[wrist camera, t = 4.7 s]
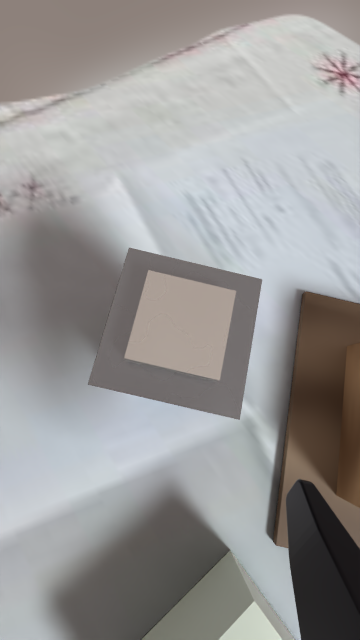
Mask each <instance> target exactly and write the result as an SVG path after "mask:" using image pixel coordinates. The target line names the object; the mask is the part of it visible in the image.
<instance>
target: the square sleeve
mask: <svg viewBox="0 0 360 640" xmlns="http://www.w3.org/2000/svg"><path fill="white" fill-rule="evenodd" d="M298 479H302V480H306V481H310V482H312V483H313V484H314V485H315V486H316V488H317V489H318V490H319V492H320V493H321V495H322V496H323V497H324V499H325V500H326V502H327V503H328V505H329V506H330V507H331V509H332V510H333V512H334V513H335V514H336V516H337V517H338V519H339V520H340V522H341V523H342V524H343V526H344V527H345V529H346V530H347V531H348V533H349V534H350V536H351V537H352V538H353V540H354V541H355V543H356V544H357V546H358V547H359V548H360V304H357V303H353V302H348V301H344V300H340V299H336V298H332V297H327V296H323V295H319V294H315V293H311V292H304V293H303V294H302V303H301V311H300V319H299V328H298V336H297V344H296V353H295V361H294V370H293V378H292V386H291V395H290V403H289V412H288V420H287V428H286V437H285V445H284V454H283V462H282V470H281V479H280V487H279V496H278V504H277V512H276V521H275V529H274V537H273V542H274V543H275V545H276V546H281V547H285V548H288V531H287V514H286V496H287V493H288V492H289V490H290V489H291V487H292V486H293V485H294V483H295V482H296V480H298Z"/></svg>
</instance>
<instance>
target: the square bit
mask: <svg viewBox="0 0 360 640" xmlns="http://www.w3.org/2000/svg"><path fill="white" fill-rule="evenodd" d="M261 283H262V279H258V278H254V277H250V276H246V275H242V274H237V273H233V272H229V271H225V270H221V269H216V268H212V267H208V266H204V265H200V264H196V263H191V262H187V261H183V260H179V259H175V258H170V257H166V256H162V255H158V254H154V253H149V252H145V251H141V250H137V249H133V248H129V249H128V253H127V256H126V259H125V263H124V266H123V269H122V273H121V276H120V279H119V283H118V286H117V289H116V293H115V296H114V299H113V303H112V306H111V309H110V312H109V316H108V319H107V322H106V326H105V329H104V332H103V336H102V339H101V342H100V346H99V349H98V352H97V356H96V359H95V362H94V366H93V369H92V372H91V376H90V379H89V382H88V385H92V386H97V387H101V388H105V389H110V390H114V391H118V392H123V393H127V394H131V395H135V396H140V397H144V398H148V399H153V400H157V401H161V402H166V403H170V404H174V405H179V406H183V407H187V408H191V409H196V410H200V411H204V412H209V413H213V414H217V415H222V416H226V417H230V418H234V419H239V420H240V414H241V408H242V401H243V395H244V389H245V383H246V376H247V370H248V364H249V358H250V352H251V345H252V339H253V333H254V327H255V321H256V314H257V308H258V302H259V296H260V290H261Z"/></svg>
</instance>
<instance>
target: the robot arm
mask: <svg viewBox="0 0 360 640" xmlns="http://www.w3.org/2000/svg"><path fill="white" fill-rule="evenodd" d="M286 514H287V531H288V548H289V561H290V568H291V575H292V582H293V588H294V595H295V602H296V608H297V615H298V621H299V628H300V634H301V640H360V548H359V547H358V546H357V544H356V543H355V541H354V540H353V538H352V537H351V536H350V534H349V533H348V531H347V530H346V529H345V527H344V526H343V524H342V523H341V522H340V520H339V519H338V517H337V516H336V514H335V513H334V512H333V510H332V509H331V507H330V506H329V505H328V503H327V502H326V500H325V499H324V497H323V496H322V495H321V493H320V492H319V490H318V489H317V488H316V486H315V485H314V484H313V483H312V482H310V481H306V480H302V479H298V480H296V482H295V483H294V485H293V486H292V487H291V489H290V490H289V492H288V493H287V496H286Z"/></svg>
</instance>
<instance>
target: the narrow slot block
mask: <svg viewBox="0 0 360 640" xmlns="http://www.w3.org/2000/svg"><path fill="white" fill-rule="evenodd" d="M141 640H295V639H294V637H293V636H292V635H291V633H290V632H289V631H288V629H287V628H286V626H285V625H284V624H283V622H282V621H281V619H280V618H279V617H278V615H277V614H276V613H275V611H274V610H273V608H272V607H271V606H270V604H269V603H268V602H267V600H266V599H265V597H264V596H263V595H262V593H261V592H260V590H259V589H258V588H257V586H256V585H255V584H254V582H253V581H252V579H251V578H250V577H249V575H248V574H247V573H246V571H245V570H244V568H243V567H242V566H241V564H240V563H239V561H238V560H237V559H236V557H235V556H234V555H233V553H232V552H231V550H230V551H229V552H228V553H227V554H226V555H225V556H224V557H223V558H222V559H221V560H220V561H219V562H218V563H217V564H216V565H215V566H214V567H213V568H212V569H211V570H210V571H209V572H208V573H207V574H206V575H205V576H204V577H203V578H202V579H201V580H200V581H199V582H198V583H197V584H196V585H195V586H194V587H193V588H192V589H191V590H190V591H189V592H188V593H187V594H186V595H185V596H184V597H183V598H182V599H181V600H180V601H179V602H178V603H177V604H176V605H175V606H174V607H173V608H172V609H171V610H170V611H169V612H168V613H167V614H166V615H165V616H164V617H163V618H162V619H161V620H160V621H159V622H158V623H157V624H156V625H155V626H154V627H153V628H152V629H151V630H150V631H149V632H148V633H147V634H146V635H145V636H144V637H143V638H142V639H141Z"/></svg>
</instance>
